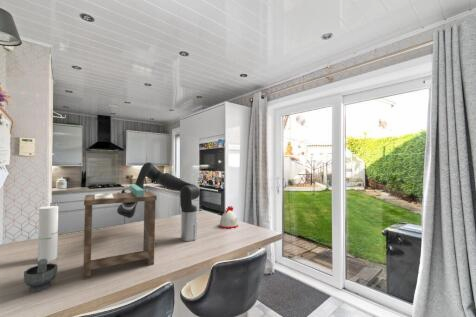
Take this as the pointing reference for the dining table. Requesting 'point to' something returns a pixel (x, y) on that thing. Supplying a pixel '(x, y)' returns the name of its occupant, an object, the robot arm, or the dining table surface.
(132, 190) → the teal square bar
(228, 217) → the kitchen timer
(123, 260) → the stand
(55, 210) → the cylindrical container
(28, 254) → the dining table surface
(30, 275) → the mortar and pestle
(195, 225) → the robot arm
